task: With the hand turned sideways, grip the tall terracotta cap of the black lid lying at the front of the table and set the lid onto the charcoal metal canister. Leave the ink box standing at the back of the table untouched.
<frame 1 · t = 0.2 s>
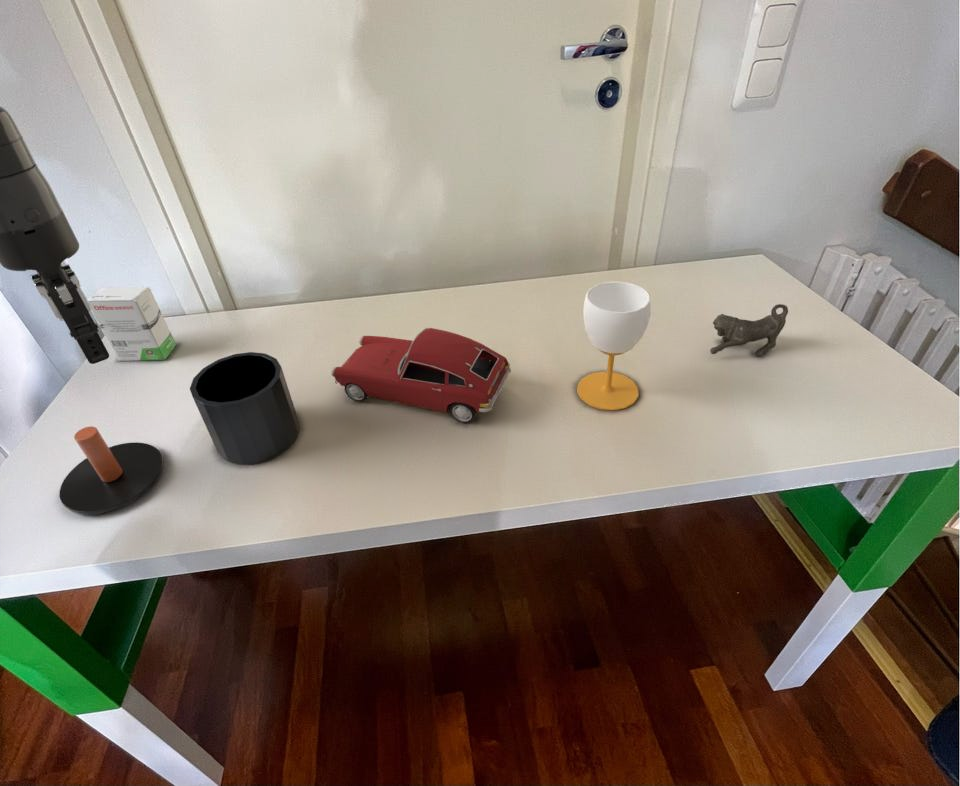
hand: (91, 345, 72), 18 cm above the table, tool pointing down, fingers open, 8 cm apart
toy car: (423, 392, 91), on the table
dog figurine: (739, 348, 95), on the table
lid: (113, 477, 79), point 1 cm above the table
cup: (607, 392, 89), on the table
ink box: (148, 353, 103), on the table
canister: (258, 435, 84), on the table
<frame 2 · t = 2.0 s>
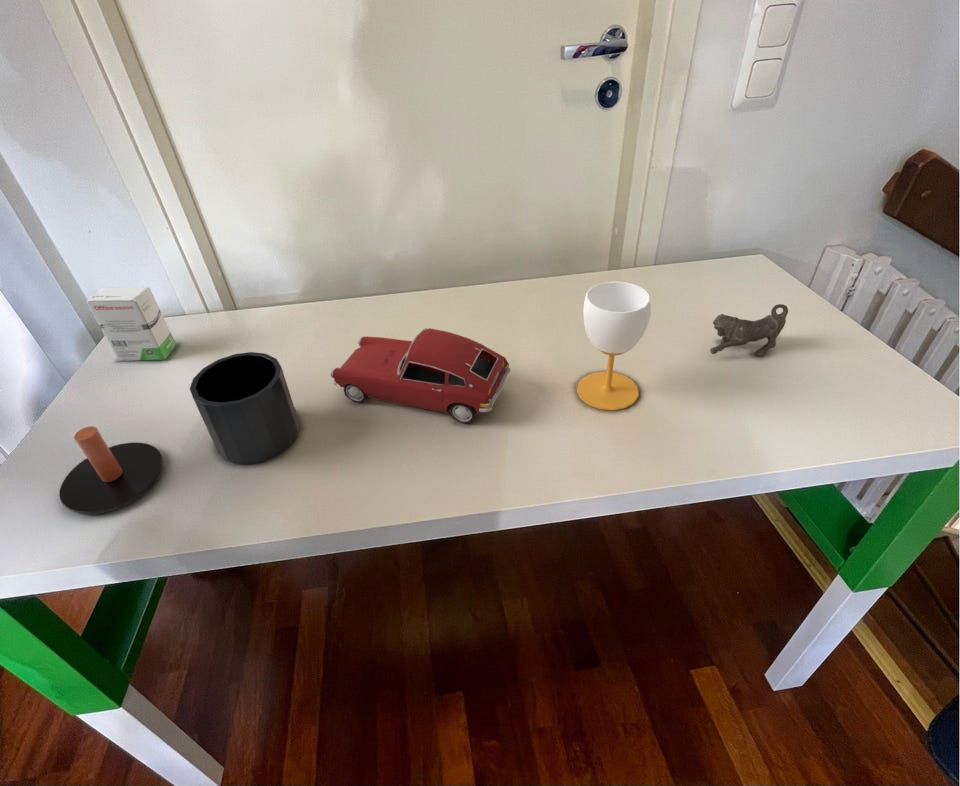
nothing on the table moved.
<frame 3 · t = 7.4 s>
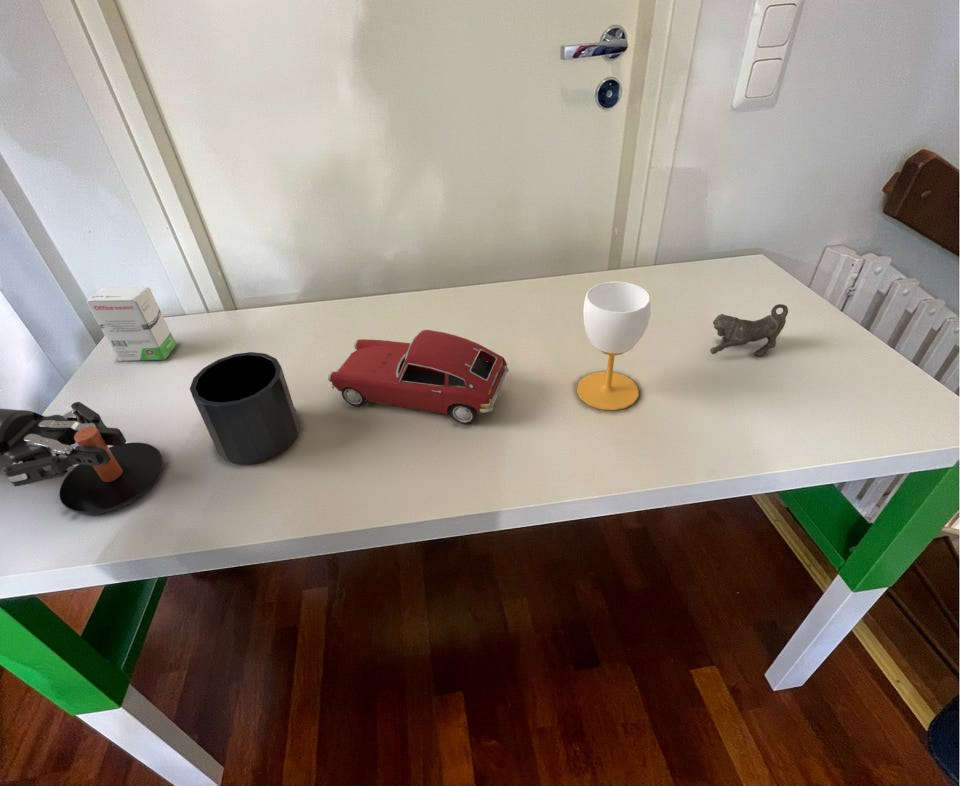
hand: (113, 446, 74), 7 cm above the table, tool horizontal, fingers closed on lid, 2 cm apart
lid: (113, 477, 79), point 1 cm above the table, touching gripper
everything else where it was.
when the fingers open (16 cm above the table, at t = 15.2 s): lid stays where it is, resting on canister.
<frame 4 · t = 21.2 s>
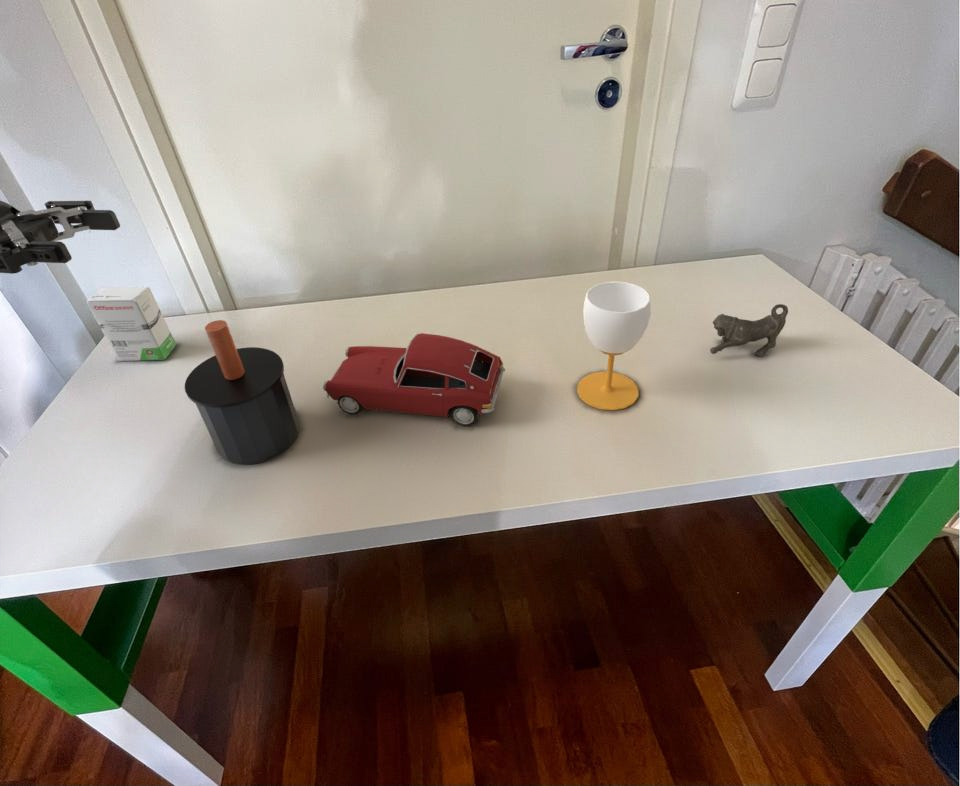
hand: (92, 235, 67), 30 cm above the table, tool horizontal, fingers open, 8 cm apart
toy car: (418, 399, 90), on the table
lid: (235, 377, 78), point 10 cm above the table, touching canister
everything else where it was.
at the end: lid 0.1 cm off-centre on the canister, point 10.5 cm above the canister's base; lid tilted 0°; ink box moved 0.2 cm from its start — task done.
